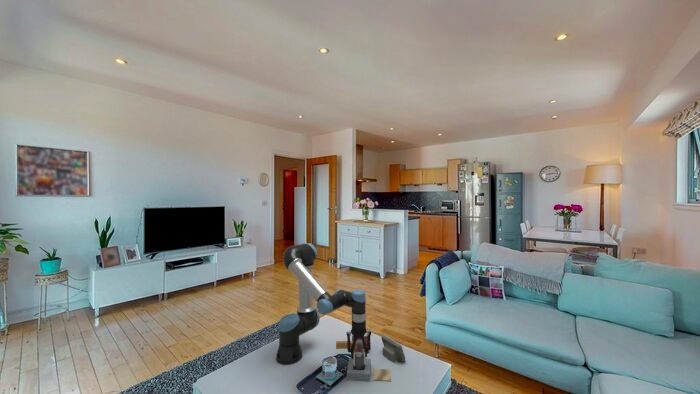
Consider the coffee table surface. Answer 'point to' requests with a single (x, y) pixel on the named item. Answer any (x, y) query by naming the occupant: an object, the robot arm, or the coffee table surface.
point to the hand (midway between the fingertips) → (358, 363)
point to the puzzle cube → (361, 339)
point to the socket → (359, 374)
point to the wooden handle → (344, 344)
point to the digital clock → (392, 349)
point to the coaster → (381, 375)
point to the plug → (359, 361)
